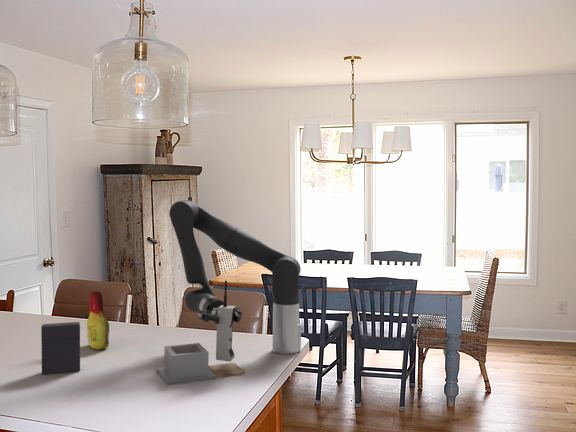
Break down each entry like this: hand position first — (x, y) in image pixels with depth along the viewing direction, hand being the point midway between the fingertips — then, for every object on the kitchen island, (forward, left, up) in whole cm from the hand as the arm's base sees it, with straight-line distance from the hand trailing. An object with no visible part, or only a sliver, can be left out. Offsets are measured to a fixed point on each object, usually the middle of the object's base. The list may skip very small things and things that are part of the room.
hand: (228, 320), depth 178 cm
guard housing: (+12, -3, -17) cm, 21 cm away
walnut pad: (0, -2, -17) cm, 17 cm away
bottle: (+34, -44, -17) cm, 59 cm away
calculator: (+47, -20, -17) cm, 54 cm away
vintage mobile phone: (0, -3, -13) cm, 14 cm away
